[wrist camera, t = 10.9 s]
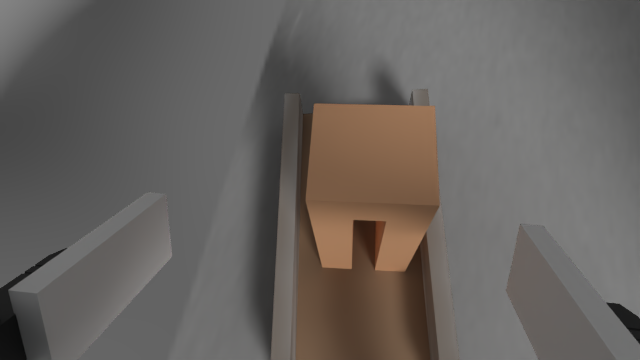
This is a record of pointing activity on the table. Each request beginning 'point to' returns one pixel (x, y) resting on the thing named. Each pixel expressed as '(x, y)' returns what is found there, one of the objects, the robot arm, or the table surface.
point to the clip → (372, 180)
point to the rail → (353, 278)
